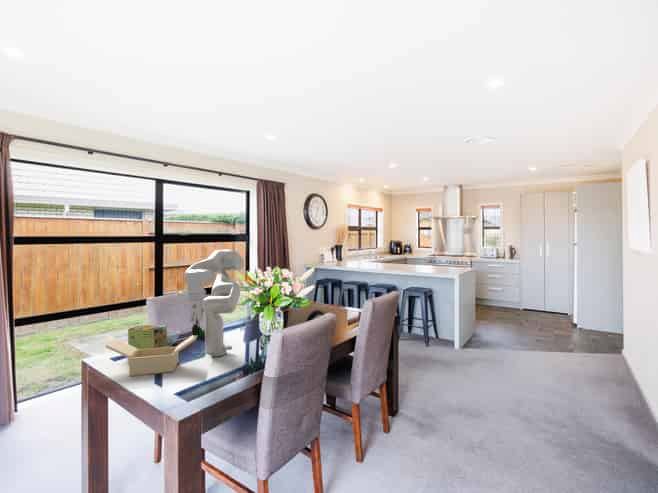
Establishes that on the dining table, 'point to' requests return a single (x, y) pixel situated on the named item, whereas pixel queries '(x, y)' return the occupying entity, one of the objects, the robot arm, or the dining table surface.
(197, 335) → the flap
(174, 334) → the chinaware
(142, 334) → the protein box
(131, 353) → the flap
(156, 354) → the carton
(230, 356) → the dining table surface
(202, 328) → the milk carton
